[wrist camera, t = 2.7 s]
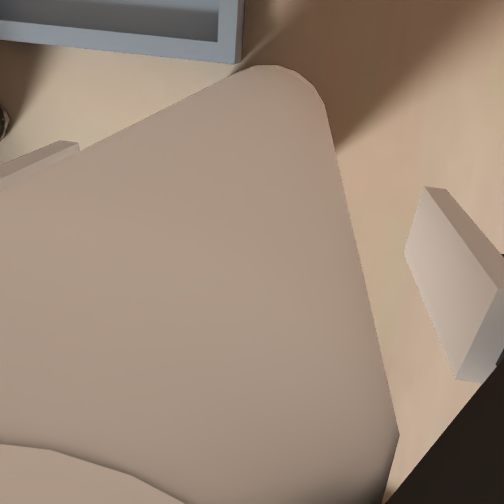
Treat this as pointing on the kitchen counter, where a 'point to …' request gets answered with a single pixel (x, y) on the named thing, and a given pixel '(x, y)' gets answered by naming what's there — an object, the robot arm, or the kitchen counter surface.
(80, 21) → the tray
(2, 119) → the camera
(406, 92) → the kitchen counter surface
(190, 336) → the bottle
